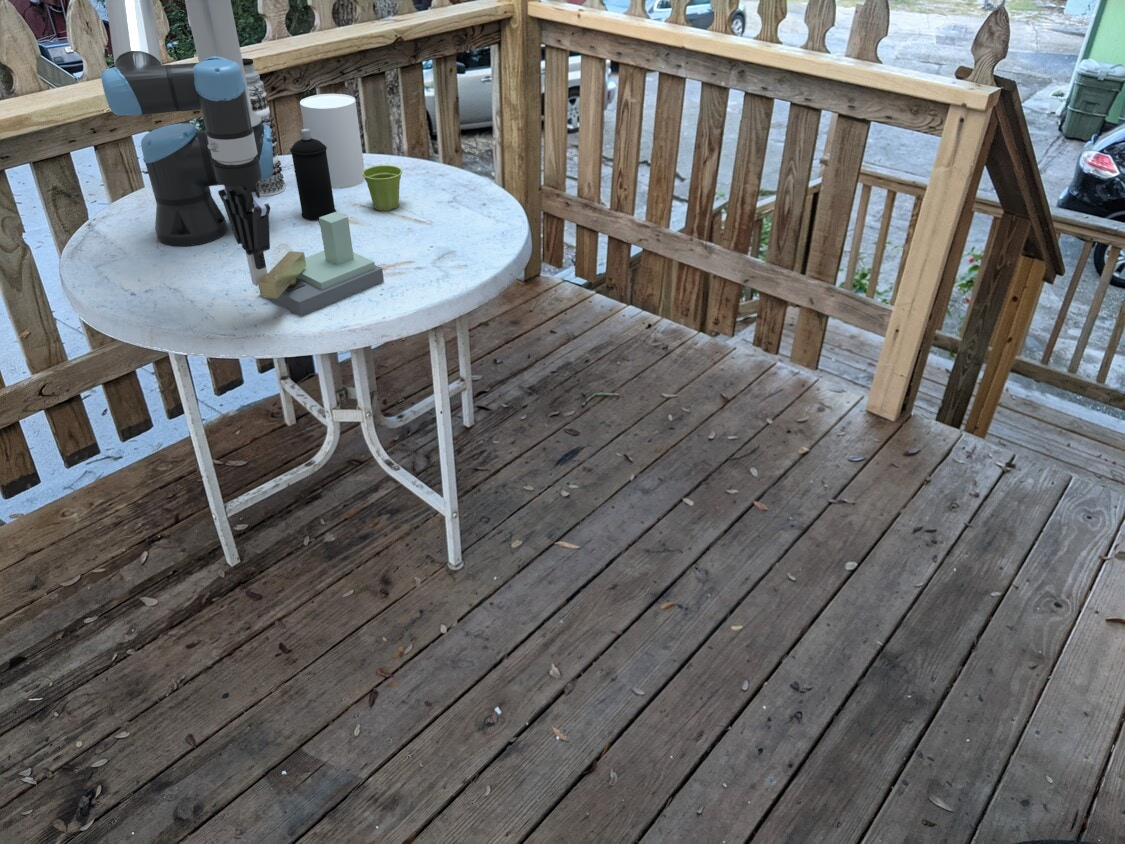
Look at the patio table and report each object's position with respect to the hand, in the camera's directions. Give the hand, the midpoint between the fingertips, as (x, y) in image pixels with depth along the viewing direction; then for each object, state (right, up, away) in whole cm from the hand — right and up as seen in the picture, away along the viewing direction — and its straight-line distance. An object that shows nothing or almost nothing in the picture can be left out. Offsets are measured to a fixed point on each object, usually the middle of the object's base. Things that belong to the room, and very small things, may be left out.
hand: (260, 282), depth 160 cm
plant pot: (+14, +26, +49) cm, 57 cm away
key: (+3, -1, +5) cm, 6 cm away
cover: (+10, +5, +12) cm, 16 cm away
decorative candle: (-18, +33, +57) cm, 69 cm away
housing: (+8, +1, +13) cm, 15 cm away
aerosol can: (-2, +23, +44) cm, 50 cm away
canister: (-2, +37, +64) cm, 74 cm away
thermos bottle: (-24, +42, +70) cm, 85 cm away
